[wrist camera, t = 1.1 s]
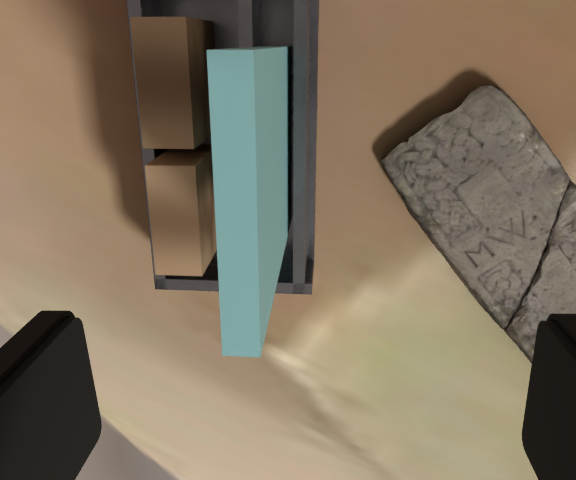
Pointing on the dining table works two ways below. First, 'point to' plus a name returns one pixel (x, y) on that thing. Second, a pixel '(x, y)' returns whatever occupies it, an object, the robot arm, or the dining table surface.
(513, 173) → the stone slab
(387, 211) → the dining table surface
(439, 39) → the dining table surface
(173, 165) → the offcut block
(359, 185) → the dining table surface
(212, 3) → the metal rack
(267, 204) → the teal board
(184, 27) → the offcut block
